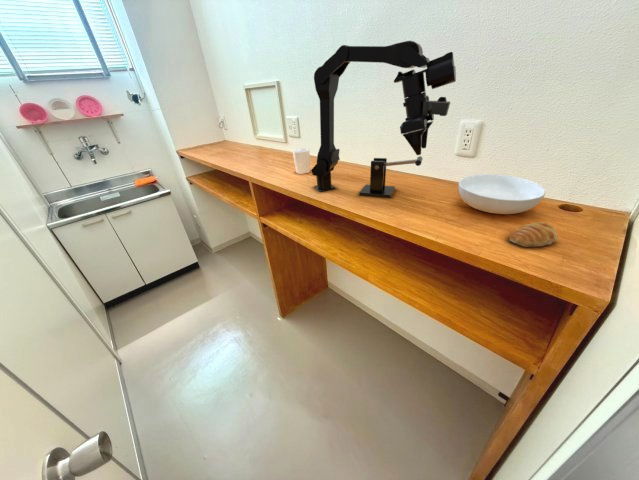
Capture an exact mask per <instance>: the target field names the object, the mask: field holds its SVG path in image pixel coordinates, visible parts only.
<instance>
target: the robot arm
mask: <svg viewBox="0 0 639 480" xmlns="http://www.w3.org/2000/svg"><path fill="white" fill-rule="evenodd" d="M353 62H354V63H376V64H377V63H380V64H381V63H382V64H388V65H390V66H395V67H398V68H403V69H410V70H408V71H405V72H402V71H398V72H397V75H396V77H395V78H394V79H393V83H394V84H397V83H400V82H401V87H402V93H403V101H404V102H403V103H402V106H403V108H405V115H406V117H405V118H404V121H403V122H402V123H401V124H400V126H399V130H400V135H402V137H404V138H405V140H406V142H407V143H408V145H409V146H410V147H411V148H412V150H413V152H414V153H415V155H416V156H421V155H422V149H426V148H427V143H428V134H429V129H430V127H431V126H432V124H434V120H435V115H436V116H439V117H446V116H447V115H448V114H449V109H450V105H451V101H448V100H447V97H446V96H440V97H439V98H438V99H437V100H430V97H429V95H427V91H426V87H431V89H432V90H435V89H437V88H440V87H444V86H447V85H450V84H453V83H455V82H456V81H457V70H456V65H455V59H454V52H453V51H450V52H446V53H445V54H444V55H442V56H439V57H437V58H434V59H432V60H430V58H429V57H426V55H424V51H423V47H422V46H421V44H420V43H418V42H416V41H414V40H405V41H401V42H396V43H393V44H389V45H386V46H385V45H383V46H381V45H347V44H343V45H341V46H339V47H338V48H337V50H336V51H335V52H334V53H333V54H332V55H331V56H330V57H329V58H328V59H327V60H326V61H325V62H324V63H323V64H322V65H320V66H318V68H316V70H315V71H314V73H313V82H314V88H315V91H316V94H317V97H318V99H319V126H320V146H319V149H318V152H317V156H316V164H315V165H314V166H313V167H312V168H311V169H310V172H311V174H312V176H315V177H316V185H314V186H313V188H315V190H316V191H318V192H320V193H321V192H326V191H330V190H335V189H336V187H335V186H334V185H333V184H332V171H335V167H336V166H337V165H338V163H339V161H341V158H340V148H337V147H336V145H335V97H336V94H337V91H338V89H339V83H340V82H339V81H340V77H342V75H343V74H344V73H345V71H346V70H347V67H348V66H349V65H350V63H353ZM414 68H421V69H423V70H420V71H417V72H416V70H415V69H414ZM425 83H426V84H425Z"/></svg>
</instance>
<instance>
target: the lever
mask: <svg viewBox="0 0 639 480" xmlns="http://www.w3.org/2000/svg"><path fill="white" fill-rule="evenodd" d="M423 159H424V157H423V156H421V155H418V156H417V158H416V159H407V160H397V161H387V162H386V163H384V166H386V167H391V166H393V167H394V166H402V165H411V164H415V166H417V167H419V166H421V165H422V162H423ZM382 161H383V160H382Z"/></svg>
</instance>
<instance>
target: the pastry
mask: <svg viewBox="0 0 639 480" xmlns="http://www.w3.org/2000/svg"><path fill="white" fill-rule="evenodd" d="M557 240H558V236H557V232H556V228H555V227H554V226H553V225H552V224H550V223H547V222H540V221H536V222H533V223H527V224H523V225H521V226H518V227H517V228H515V229H514V230H513V232H511V233H510V234H509V242H512V243H513V244H516V245H519V246H521V247H524V248H525V247H527V248H529V247H532V248H533V247H534V248H537V247H543V246H547V245H548V246H549V245H551V244H553V243H555V242H556V241H557Z"/></svg>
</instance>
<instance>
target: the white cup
mask: <svg viewBox="0 0 639 480" xmlns="http://www.w3.org/2000/svg"><path fill="white" fill-rule="evenodd" d="M310 155H311V153H310V148H298V149H293V150H292V156H293V163H294V168H295V173H296V174H299V175H304V174H308V173H310V172H311V156H310Z"/></svg>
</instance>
